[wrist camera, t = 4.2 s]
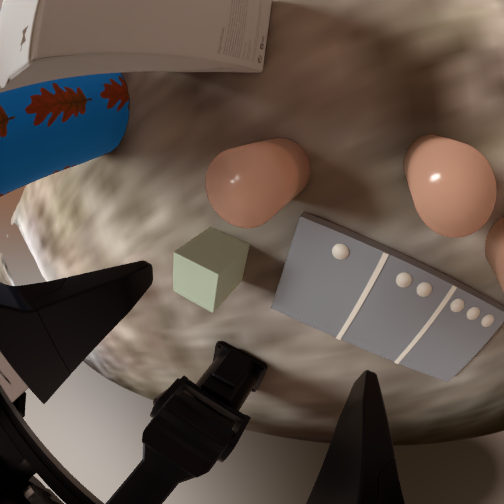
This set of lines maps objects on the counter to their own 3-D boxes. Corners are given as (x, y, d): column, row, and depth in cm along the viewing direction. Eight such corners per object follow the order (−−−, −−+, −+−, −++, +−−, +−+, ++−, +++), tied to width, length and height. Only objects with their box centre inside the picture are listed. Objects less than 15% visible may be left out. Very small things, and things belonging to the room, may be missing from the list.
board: (447, 374, 20) (447, 383, 19) (274, 301, 25) (270, 308, 24) (505, 307, 15) (509, 315, 14) (303, 211, 20) (299, 216, 19)
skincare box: (275, 0, 13) (81, -95, 1) (264, 79, 16) (30, 67, 4) (181, 9, 15) (2, -9, 3) (172, 77, 19) (-15, 99, 7)
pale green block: (242, 280, 25) (212, 312, 22) (205, 262, 27) (173, 290, 23) (250, 244, 23) (218, 274, 19) (210, 226, 24) (173, 252, 20)
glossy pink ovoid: (301, 206, 20) (269, 240, 15) (247, 186, 21) (201, 212, 16) (317, 148, 17) (288, 161, 12) (258, 130, 18) (210, 139, 14)
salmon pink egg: (450, 212, 15) (472, 251, 10) (394, 184, 16) (398, 214, 11) (473, 153, 12) (508, 170, 8) (415, 123, 13) (429, 124, 9)
